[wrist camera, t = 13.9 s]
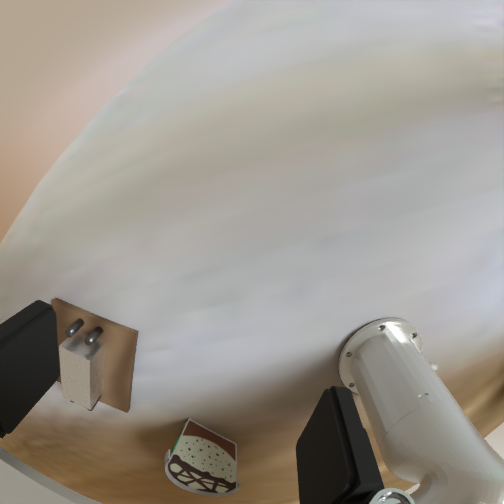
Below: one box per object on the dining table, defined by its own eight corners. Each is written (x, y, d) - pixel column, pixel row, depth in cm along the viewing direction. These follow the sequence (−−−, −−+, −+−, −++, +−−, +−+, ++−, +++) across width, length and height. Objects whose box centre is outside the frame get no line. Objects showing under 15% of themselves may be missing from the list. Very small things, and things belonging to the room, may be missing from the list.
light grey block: (105, 342, 39) (89, 360, 34) (103, 390, 41) (90, 410, 36) (76, 329, 39) (58, 345, 34) (76, 378, 41) (62, 396, 36)
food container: (163, 429, 44) (147, 473, 35) (180, 413, 43) (165, 459, 33) (223, 461, 46) (217, 504, 36) (244, 446, 44) (240, 493, 35)
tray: (138, 331, 39) (135, 335, 38) (129, 408, 43) (127, 412, 42) (56, 297, 39) (52, 300, 38) (59, 376, 43) (55, 380, 42)
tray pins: (103, 328, 38) (92, 340, 35) (101, 398, 42) (92, 411, 38) (77, 317, 38) (65, 328, 35) (78, 388, 42) (69, 400, 38)
